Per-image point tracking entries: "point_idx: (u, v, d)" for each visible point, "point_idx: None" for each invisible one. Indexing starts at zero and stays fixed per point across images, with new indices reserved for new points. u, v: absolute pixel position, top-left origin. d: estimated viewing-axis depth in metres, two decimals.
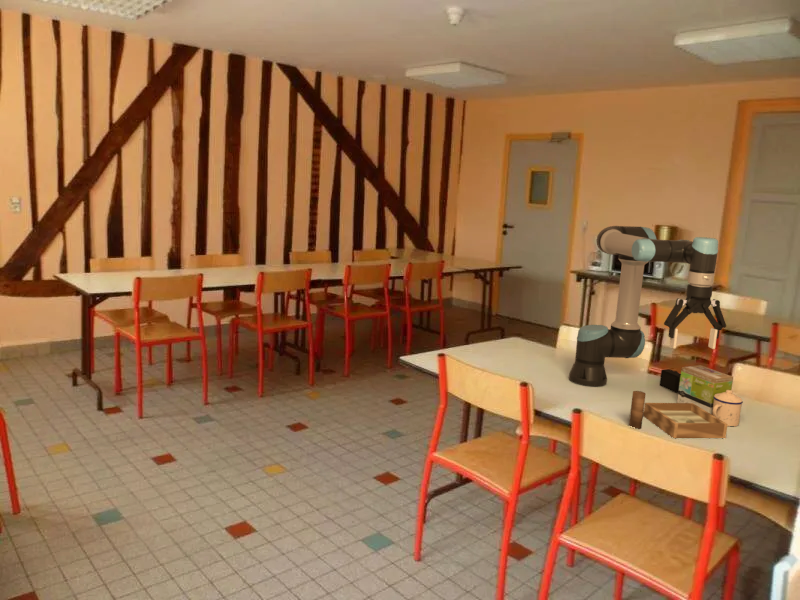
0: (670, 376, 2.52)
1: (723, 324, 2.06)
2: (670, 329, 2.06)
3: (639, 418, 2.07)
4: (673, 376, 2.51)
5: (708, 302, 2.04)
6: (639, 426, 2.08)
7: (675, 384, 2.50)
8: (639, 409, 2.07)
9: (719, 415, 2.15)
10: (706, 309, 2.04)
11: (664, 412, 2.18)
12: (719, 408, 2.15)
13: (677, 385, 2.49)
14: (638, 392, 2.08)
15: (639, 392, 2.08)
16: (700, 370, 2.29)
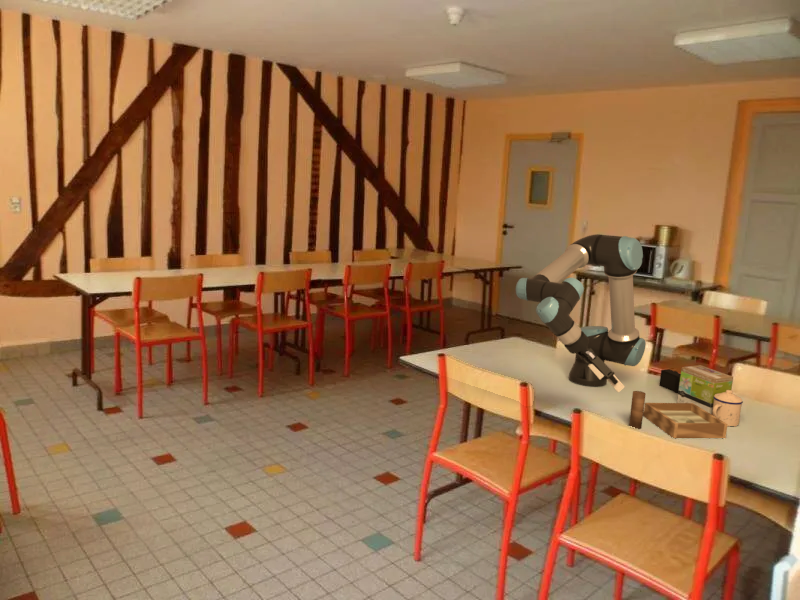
0: (670, 376, 2.52)
1: (605, 375, 1.96)
2: None
3: (639, 418, 2.07)
4: (673, 376, 2.50)
5: (584, 354, 2.00)
6: (639, 426, 2.08)
7: (675, 384, 2.49)
8: (639, 409, 2.07)
9: (719, 415, 2.15)
10: (586, 359, 2.01)
11: (664, 412, 2.18)
12: (719, 408, 2.15)
13: (677, 385, 2.48)
14: (638, 392, 2.08)
15: (639, 392, 2.08)
16: (700, 370, 2.29)
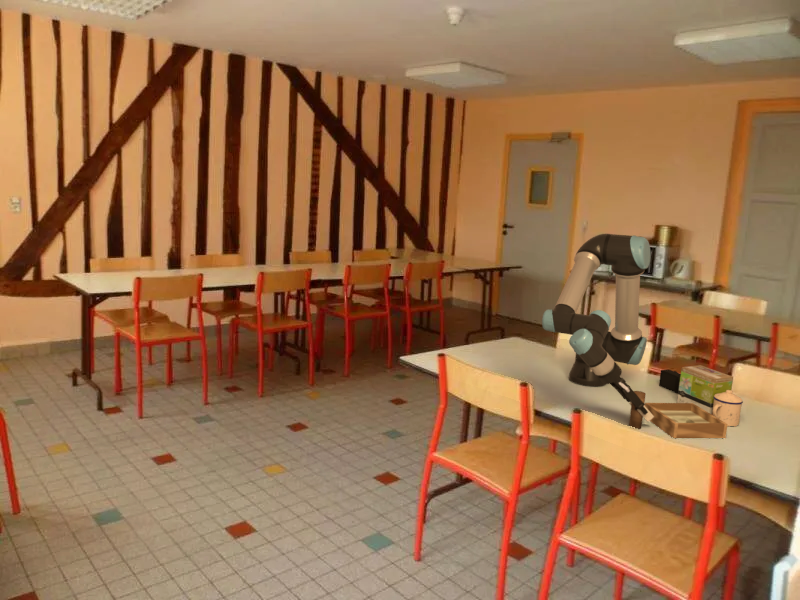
0: (670, 376, 2.52)
1: (636, 406, 2.03)
2: None
3: (639, 418, 2.07)
4: (673, 376, 2.50)
5: (617, 385, 2.03)
6: (639, 426, 2.08)
7: (675, 384, 2.49)
8: None
9: (719, 415, 2.15)
10: (618, 390, 2.05)
11: (664, 412, 2.18)
12: (719, 408, 2.15)
13: (677, 385, 2.48)
14: (638, 392, 2.08)
15: (639, 392, 2.08)
16: (700, 370, 2.29)
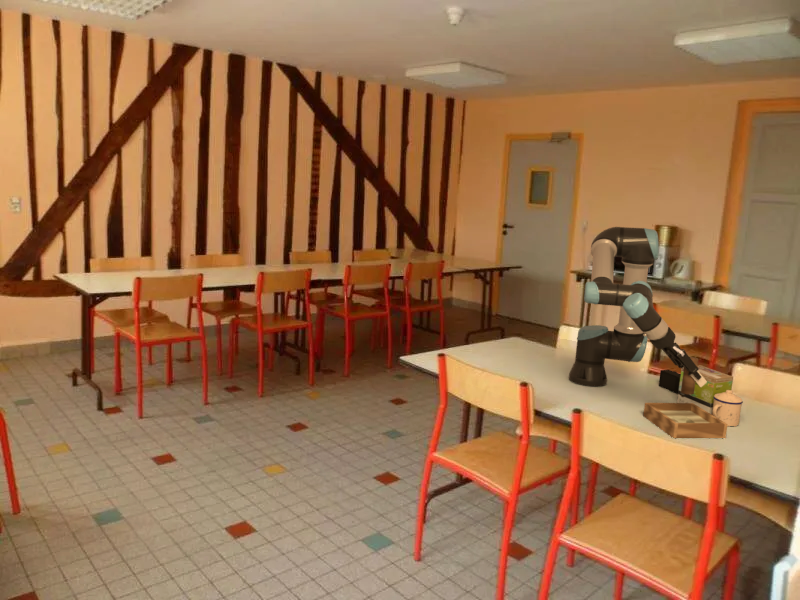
0: (670, 376, 2.52)
1: (690, 371, 2.03)
2: None
3: (691, 383, 2.07)
4: (673, 376, 2.50)
5: (671, 349, 2.03)
6: (692, 392, 2.08)
7: (675, 384, 2.49)
8: None
9: (719, 415, 2.15)
10: (671, 355, 2.05)
11: (664, 412, 2.18)
12: (719, 408, 2.15)
13: (677, 385, 2.48)
14: (690, 357, 2.08)
15: (692, 357, 2.08)
16: (700, 370, 2.29)
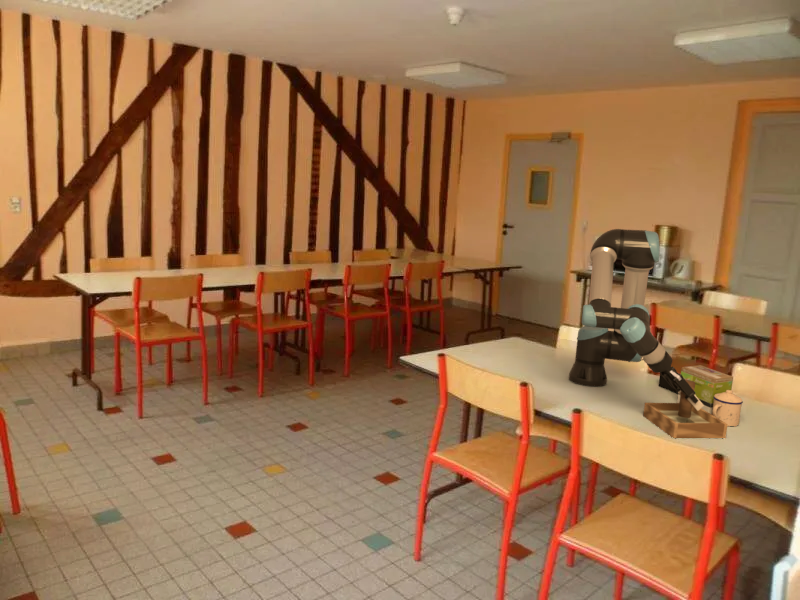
0: None
1: (687, 395, 2.04)
2: None
3: (688, 407, 2.08)
4: None
5: (668, 373, 2.04)
6: (689, 415, 2.09)
7: None
8: None
9: (719, 415, 2.15)
10: (668, 378, 2.06)
11: (664, 412, 2.18)
12: (719, 408, 2.15)
13: None
14: (687, 381, 2.09)
15: (689, 381, 2.09)
16: (700, 370, 2.29)
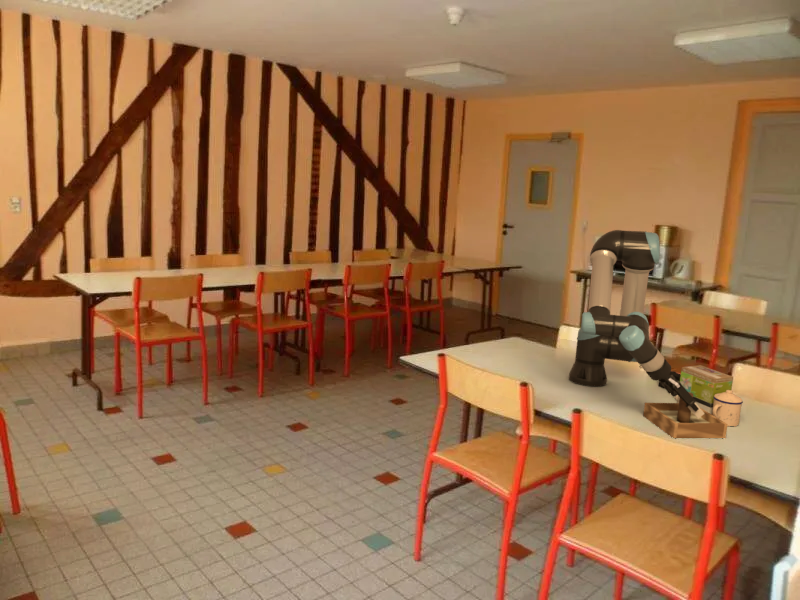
0: None
1: (687, 403, 2.04)
2: None
3: (686, 418, 2.09)
4: None
5: (666, 381, 2.05)
6: None
7: None
8: (687, 409, 2.09)
9: (719, 415, 2.15)
10: (667, 386, 2.07)
11: (664, 412, 2.18)
12: (719, 408, 2.15)
13: None
14: None
15: None
16: (700, 370, 2.29)
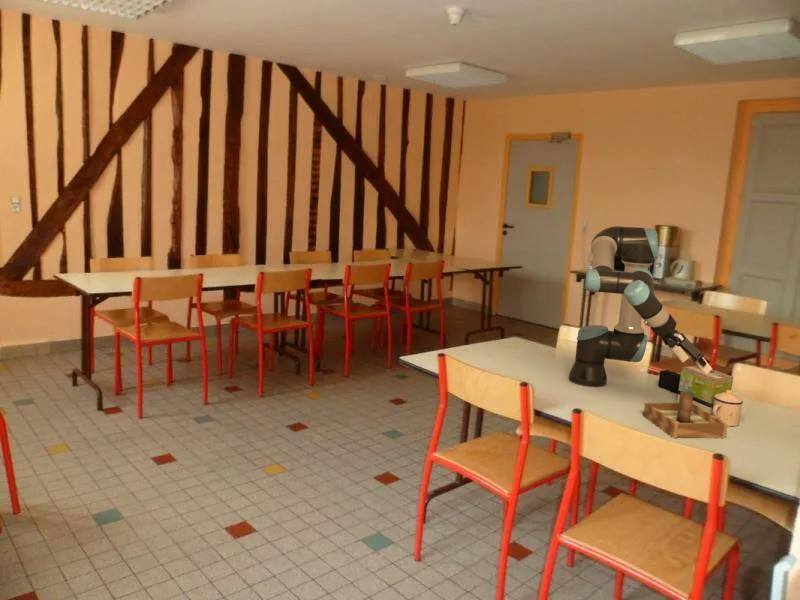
0: (670, 377, 2.51)
1: (695, 357, 1.98)
2: None
3: (686, 418, 2.09)
4: (673, 377, 2.49)
5: (672, 336, 2.02)
6: None
7: (675, 384, 2.48)
8: (687, 409, 2.09)
9: (719, 415, 2.15)
10: (673, 342, 2.04)
11: (664, 412, 2.18)
12: (719, 408, 2.15)
13: (678, 386, 2.48)
14: (685, 393, 2.10)
15: (687, 393, 2.10)
16: (700, 370, 2.29)
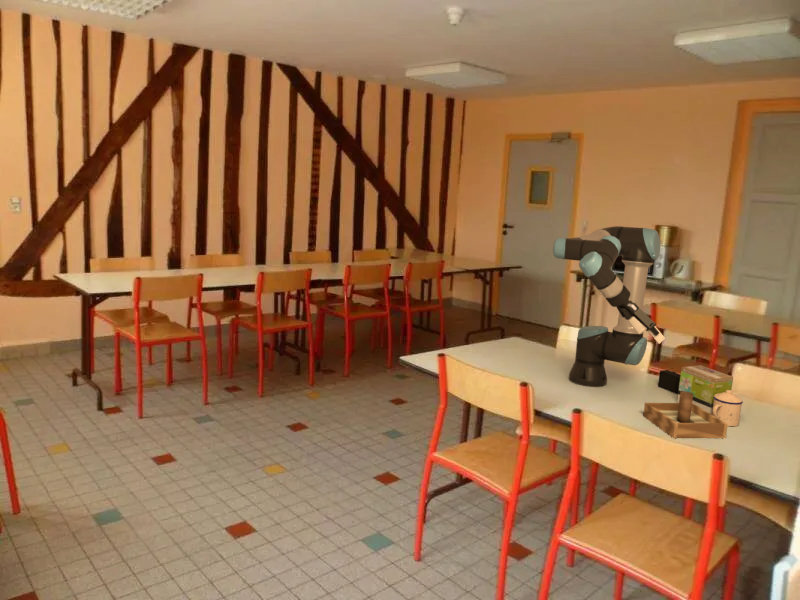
0: (670, 377, 2.51)
1: (647, 327, 2.03)
2: None
3: (686, 418, 2.09)
4: (673, 377, 2.49)
5: (625, 307, 2.07)
6: None
7: (675, 385, 2.48)
8: (687, 409, 2.09)
9: (719, 415, 2.15)
10: (627, 312, 2.08)
11: (664, 412, 2.18)
12: (719, 408, 2.15)
13: (678, 386, 2.47)
14: (685, 393, 2.10)
15: (687, 392, 2.10)
16: (700, 370, 2.29)
